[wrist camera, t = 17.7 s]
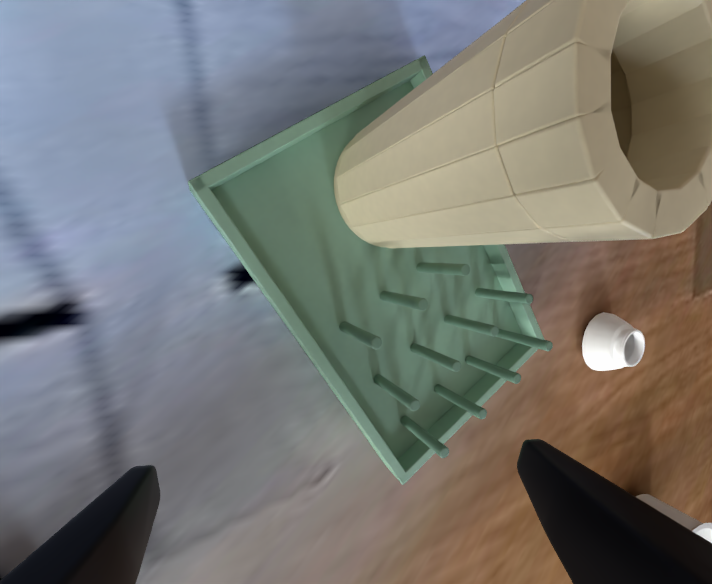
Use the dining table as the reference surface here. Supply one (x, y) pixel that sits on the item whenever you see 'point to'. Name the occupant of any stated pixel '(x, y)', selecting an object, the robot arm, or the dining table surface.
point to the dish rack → (372, 286)
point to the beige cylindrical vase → (545, 133)
